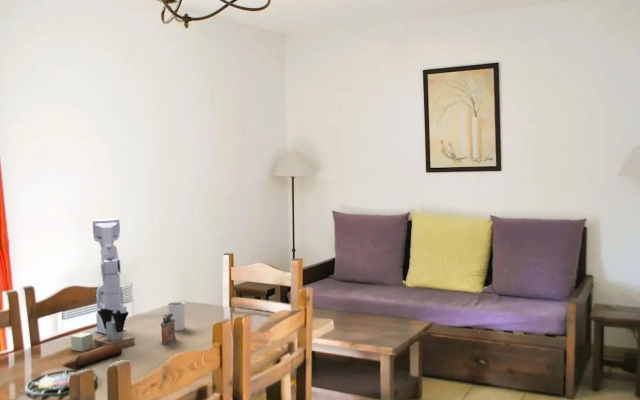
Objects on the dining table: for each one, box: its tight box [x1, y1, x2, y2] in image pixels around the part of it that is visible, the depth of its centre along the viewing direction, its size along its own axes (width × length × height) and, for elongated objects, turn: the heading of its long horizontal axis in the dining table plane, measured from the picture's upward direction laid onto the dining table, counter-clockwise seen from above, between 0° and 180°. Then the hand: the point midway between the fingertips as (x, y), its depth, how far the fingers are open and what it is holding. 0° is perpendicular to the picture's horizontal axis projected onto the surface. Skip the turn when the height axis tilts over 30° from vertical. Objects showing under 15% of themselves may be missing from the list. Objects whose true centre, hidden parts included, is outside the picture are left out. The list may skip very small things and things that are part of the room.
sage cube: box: [70, 332, 94, 352], centre depth 219 cm, size 5×5×5 cm
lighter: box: [160, 313, 177, 346], centre depth 225 cm, size 8×3×10 cm, turn 168°
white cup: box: [166, 301, 186, 332], centre depth 242 cm, size 7×7×10 cm
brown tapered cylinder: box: [62, 345, 123, 370], centre depth 205 cm, size 18×7×7 cm
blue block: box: [106, 320, 124, 340], centre depth 223 cm, size 4×4×6 cm
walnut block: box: [93, 333, 135, 349], centre depth 223 cm, size 10×10×3 cm
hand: (113, 330), depth 222 cm, fingers open, 7 cm apart
